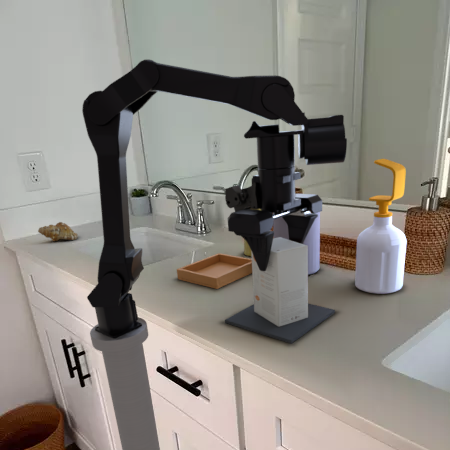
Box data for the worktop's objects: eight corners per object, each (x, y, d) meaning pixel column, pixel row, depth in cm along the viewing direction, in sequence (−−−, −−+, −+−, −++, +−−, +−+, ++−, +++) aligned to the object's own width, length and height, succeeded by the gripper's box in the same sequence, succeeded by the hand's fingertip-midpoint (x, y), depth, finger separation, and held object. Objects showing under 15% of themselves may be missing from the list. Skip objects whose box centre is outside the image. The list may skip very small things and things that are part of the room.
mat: (291, 343, 67) (291, 340, 67) (224, 322, 76) (224, 319, 76) (334, 312, 77) (335, 309, 76) (271, 297, 86) (271, 294, 85)
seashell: (63, 252, 143) (41, 229, 138) (55, 252, 150) (34, 230, 145) (82, 235, 147) (62, 211, 142) (74, 235, 153) (54, 213, 148)
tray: (217, 289, 92) (216, 278, 91) (177, 279, 100) (176, 269, 99) (258, 270, 102) (258, 260, 101) (219, 262, 110) (218, 253, 109)
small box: (308, 318, 74) (309, 245, 69) (278, 327, 71) (276, 252, 66) (282, 303, 81) (280, 236, 76) (253, 311, 78) (249, 242, 73)
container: (297, 260, 107) (296, 199, 101) (328, 269, 99) (330, 203, 93) (265, 269, 101) (263, 206, 96) (296, 280, 94) (295, 211, 88)
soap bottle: (368, 275, 93) (375, 157, 83) (410, 284, 86) (422, 156, 77) (346, 288, 87) (351, 162, 78) (389, 298, 81) (400, 162, 72)
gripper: (269, 161, 78) (272, 244, 84) (197, 174, 65) (207, 271, 71) (324, 160, 71) (323, 251, 77) (254, 175, 58) (260, 283, 64)
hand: (279, 263), depth 73 cm, fingers open, 9 cm apart
